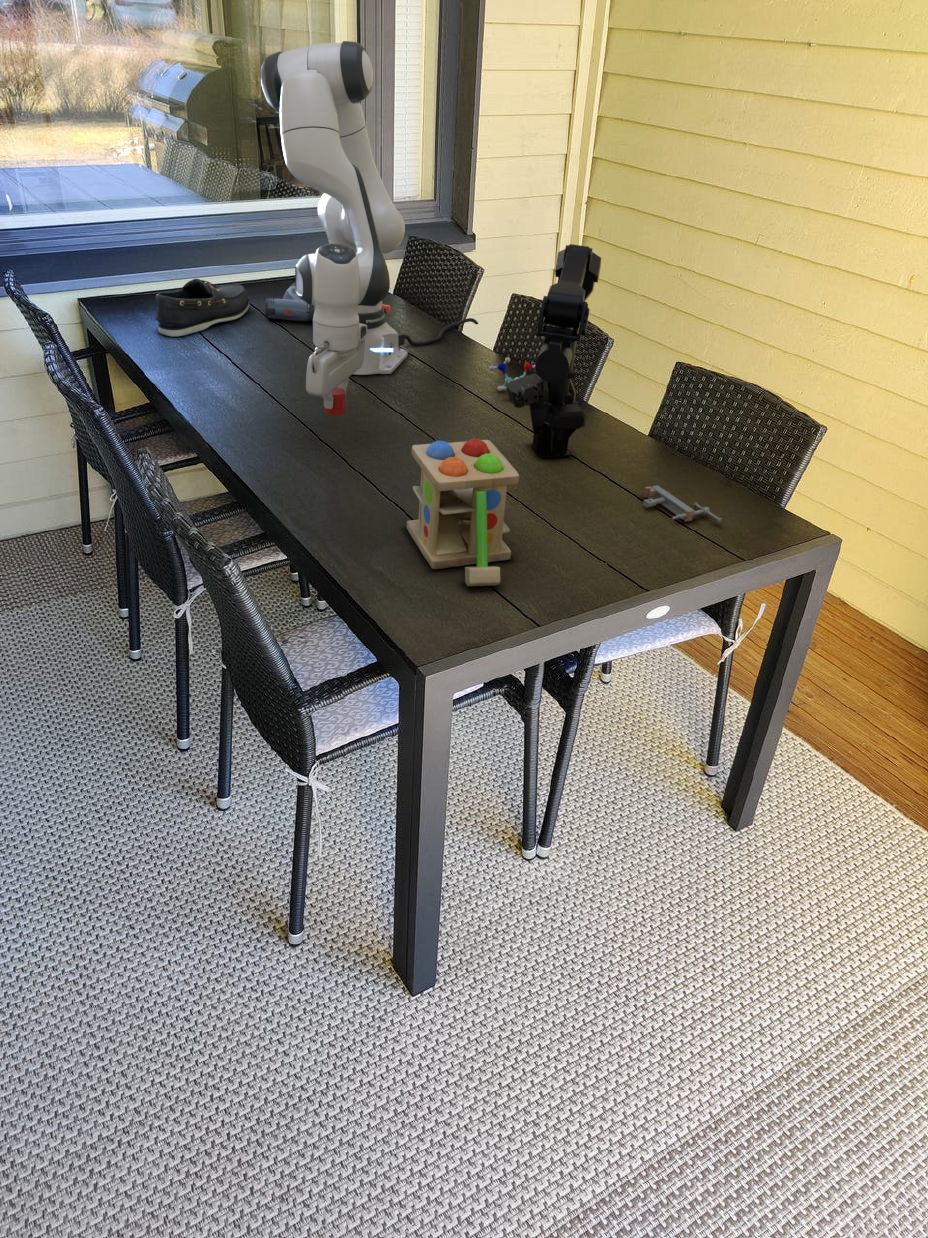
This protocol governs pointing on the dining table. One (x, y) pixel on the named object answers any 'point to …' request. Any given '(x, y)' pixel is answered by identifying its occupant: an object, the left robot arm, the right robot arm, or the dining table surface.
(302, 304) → the power drill
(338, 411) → the can
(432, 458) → the pounding bench toy
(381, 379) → the dining table surface
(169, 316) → the boat shoe
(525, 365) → the molecular model
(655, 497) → the clamp
